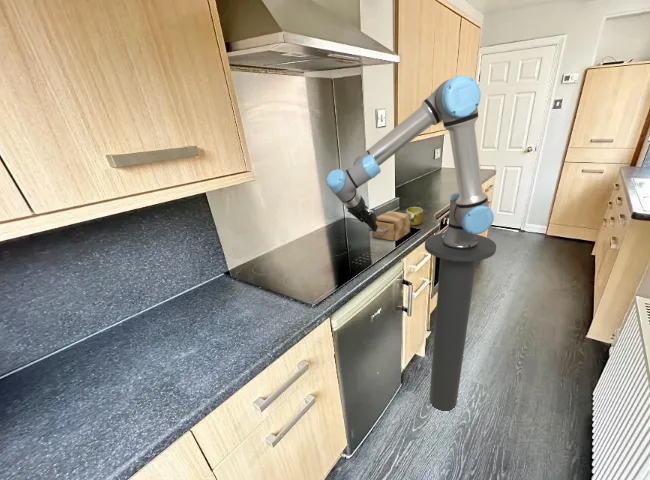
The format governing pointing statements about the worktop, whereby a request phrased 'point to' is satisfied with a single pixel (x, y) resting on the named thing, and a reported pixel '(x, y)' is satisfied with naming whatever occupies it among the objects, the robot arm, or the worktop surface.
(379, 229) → the drawer
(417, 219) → the mug
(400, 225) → the cabinet
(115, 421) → the worktop surface
